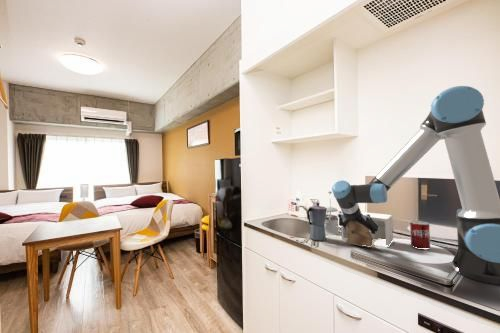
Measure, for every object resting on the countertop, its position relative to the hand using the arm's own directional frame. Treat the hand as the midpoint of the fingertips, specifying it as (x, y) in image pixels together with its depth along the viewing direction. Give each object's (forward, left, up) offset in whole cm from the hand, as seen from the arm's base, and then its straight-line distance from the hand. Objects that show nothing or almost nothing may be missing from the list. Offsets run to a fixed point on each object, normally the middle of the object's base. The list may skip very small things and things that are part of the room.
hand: (361, 234), depth 109 cm
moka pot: (+16, +15, -6) cm, 23 cm away
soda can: (-13, -22, -6) cm, 26 cm away
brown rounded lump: (-2, +3, -4) cm, 5 cm away
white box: (+4, -7, -5) cm, 9 cm away
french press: (+24, 0, -6) cm, 24 cm away
